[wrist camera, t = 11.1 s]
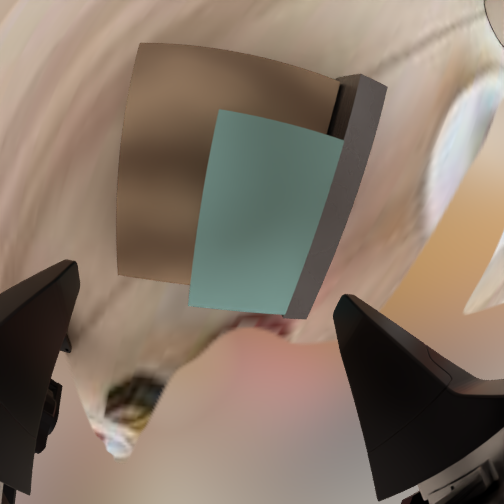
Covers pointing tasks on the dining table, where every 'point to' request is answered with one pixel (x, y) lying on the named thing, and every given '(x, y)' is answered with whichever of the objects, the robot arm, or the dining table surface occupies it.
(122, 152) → the shelf board
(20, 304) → the robot arm
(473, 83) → the dining table surface
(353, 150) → the price rail
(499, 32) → the pill bottle
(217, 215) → the teal carton
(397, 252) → the dining table surface
